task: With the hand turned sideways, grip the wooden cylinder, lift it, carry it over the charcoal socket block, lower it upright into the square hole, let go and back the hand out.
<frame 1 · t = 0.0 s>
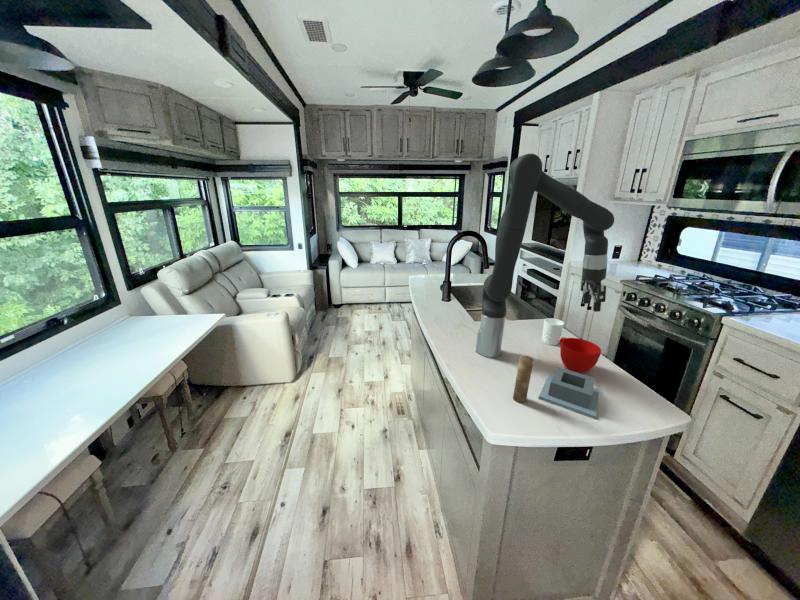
hand: (591, 307, 118), 22 cm above the countertop, tool pointing down, fingers open, 8 cm apart
white cup: (549, 342, 139), on the countertop
wooden cylinder: (519, 399, 100), on the countertop
ceramic cup: (571, 366, 120), on the countertop
socket block: (569, 395, 102), on the countertop
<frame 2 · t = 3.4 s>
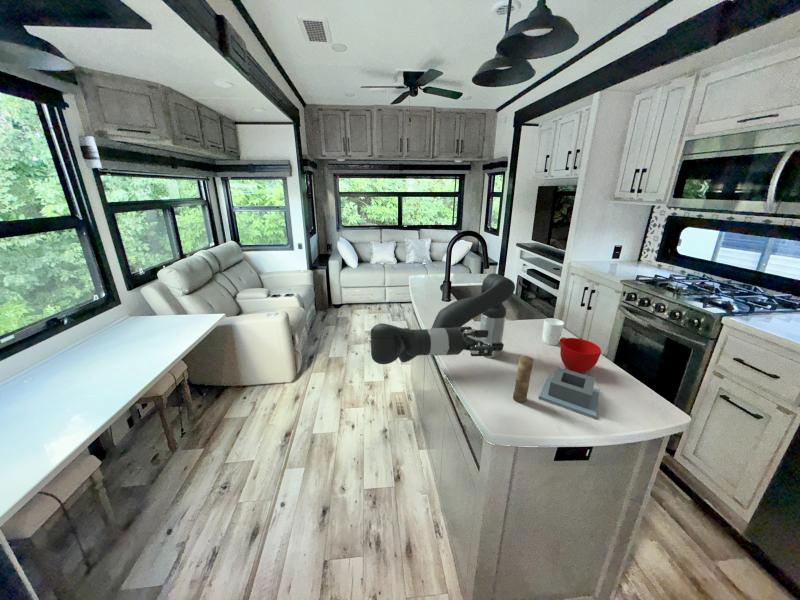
hand: (494, 339, 89), 23 cm above the countertop, tool horizontal, fingers open, 8 cm apart
nothing on the countertop moved.
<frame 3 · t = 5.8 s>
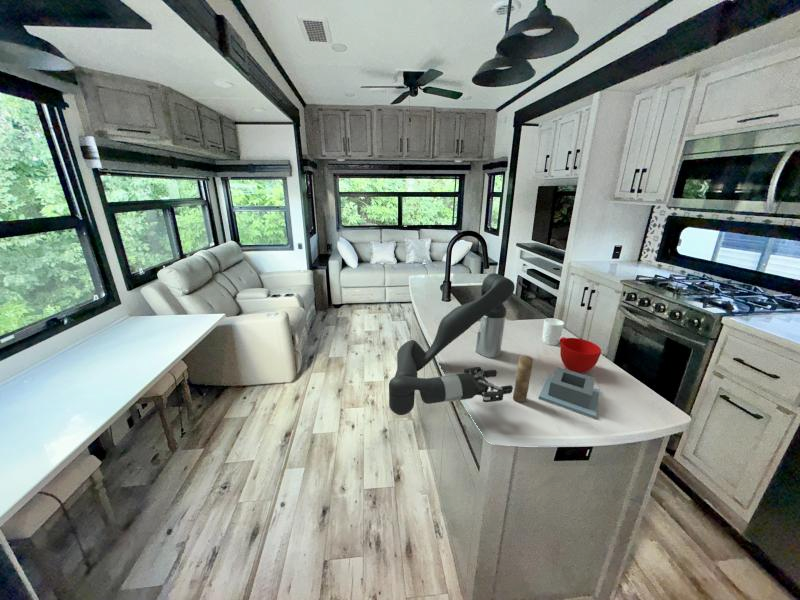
hand: (503, 380, 95), 9 cm above the countertop, tool horizontal, fingers open, 8 cm apart
nothing on the countertop moved.
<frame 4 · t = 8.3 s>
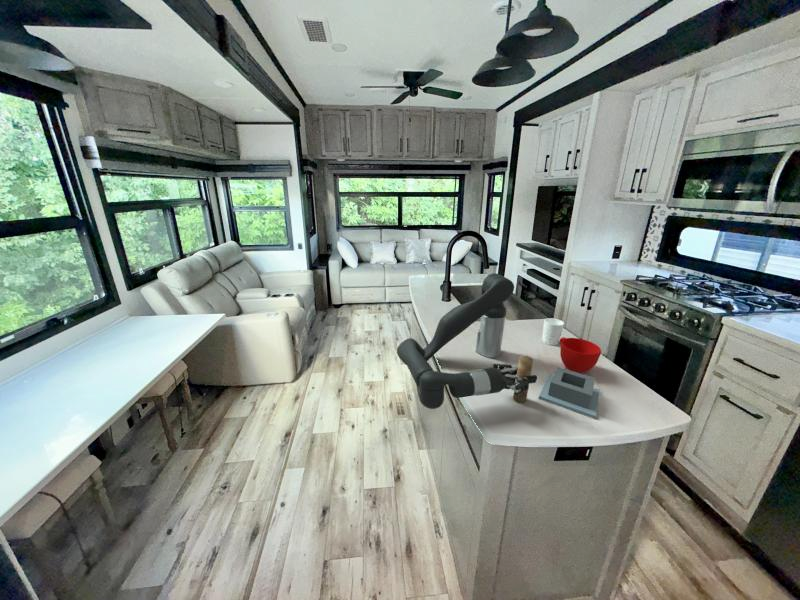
hand: (531, 374, 97), 9 cm above the countertop, tool horizontal, fingers closed on wooden cylinder, 4 cm apart
wooden cylinder: (519, 399, 100), on the countertop, touching gripper
everything else where it was.
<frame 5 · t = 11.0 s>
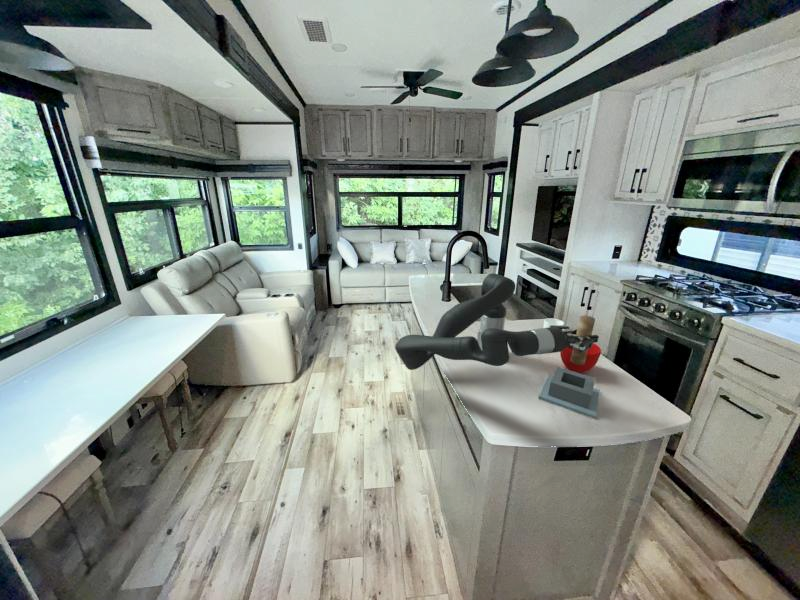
hand: (590, 335, 95), 22 cm above the countertop, tool horizontal, fingers closed on wooden cylinder, 4 cm apart
wooden cylinder: (577, 361, 98), point 13 cm above the countertop, touching gripper
everything else where it was.
when the fingers open (11 cm above the countertop, at t = 13.8 s): wooden cylinder drops 1 cm, resting on socket block.
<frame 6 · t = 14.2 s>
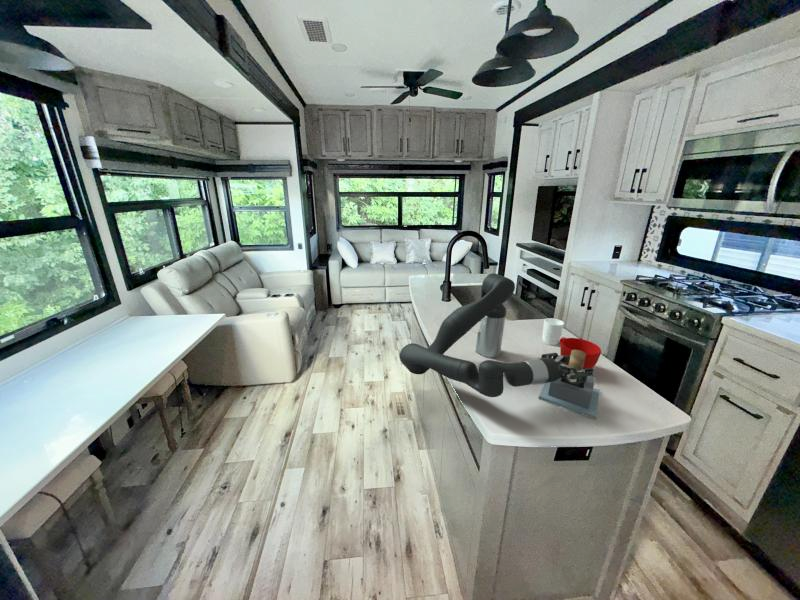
hand: (582, 364, 99), 12 cm above the countertop, tool horizontal, fingers open, 7 cm apart
wooden cylinder: (569, 392, 102), point 1 cm above the countertop, touching socket block
everything else where it was.
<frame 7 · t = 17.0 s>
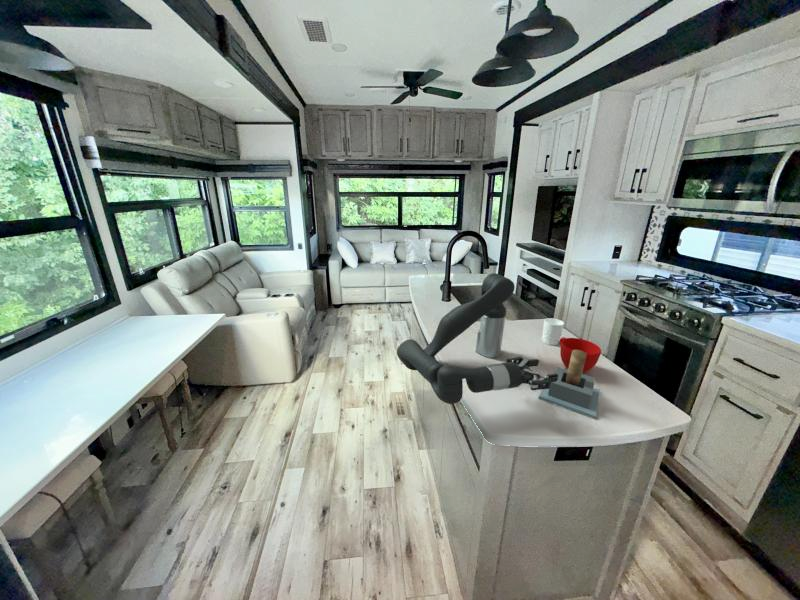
hand: (547, 369, 96), 12 cm above the countertop, tool horizontal, fingers open, 8 cm apart
nothing on the countertop moved.
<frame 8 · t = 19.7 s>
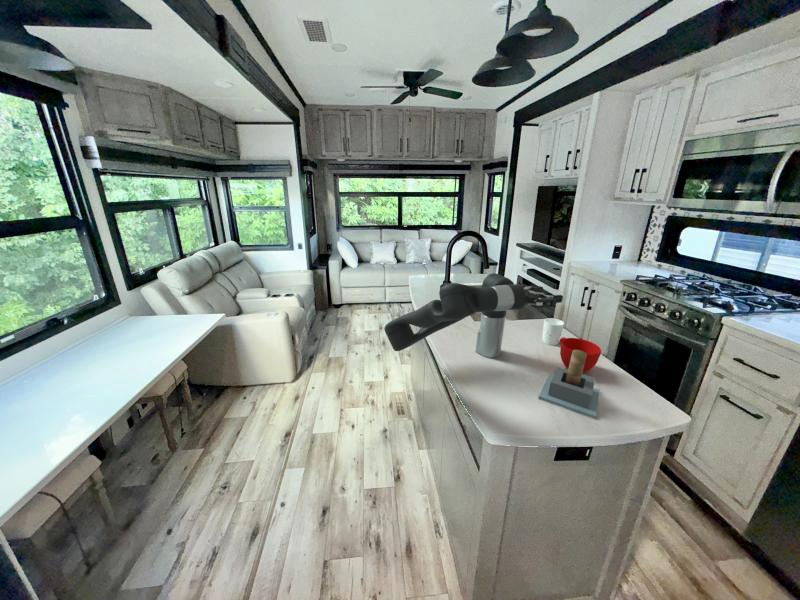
hand: (551, 294, 95), 34 cm above the countertop, tool horizontal, fingers open, 8 cm apart
nothing on the countertop moved.
at the end: wooden cylinder 0.1 cm off-centre on the socket block, point 1.0 cm above the socket block's base; wooden cylinder tilted 0°; the gripper is holding nothing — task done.
